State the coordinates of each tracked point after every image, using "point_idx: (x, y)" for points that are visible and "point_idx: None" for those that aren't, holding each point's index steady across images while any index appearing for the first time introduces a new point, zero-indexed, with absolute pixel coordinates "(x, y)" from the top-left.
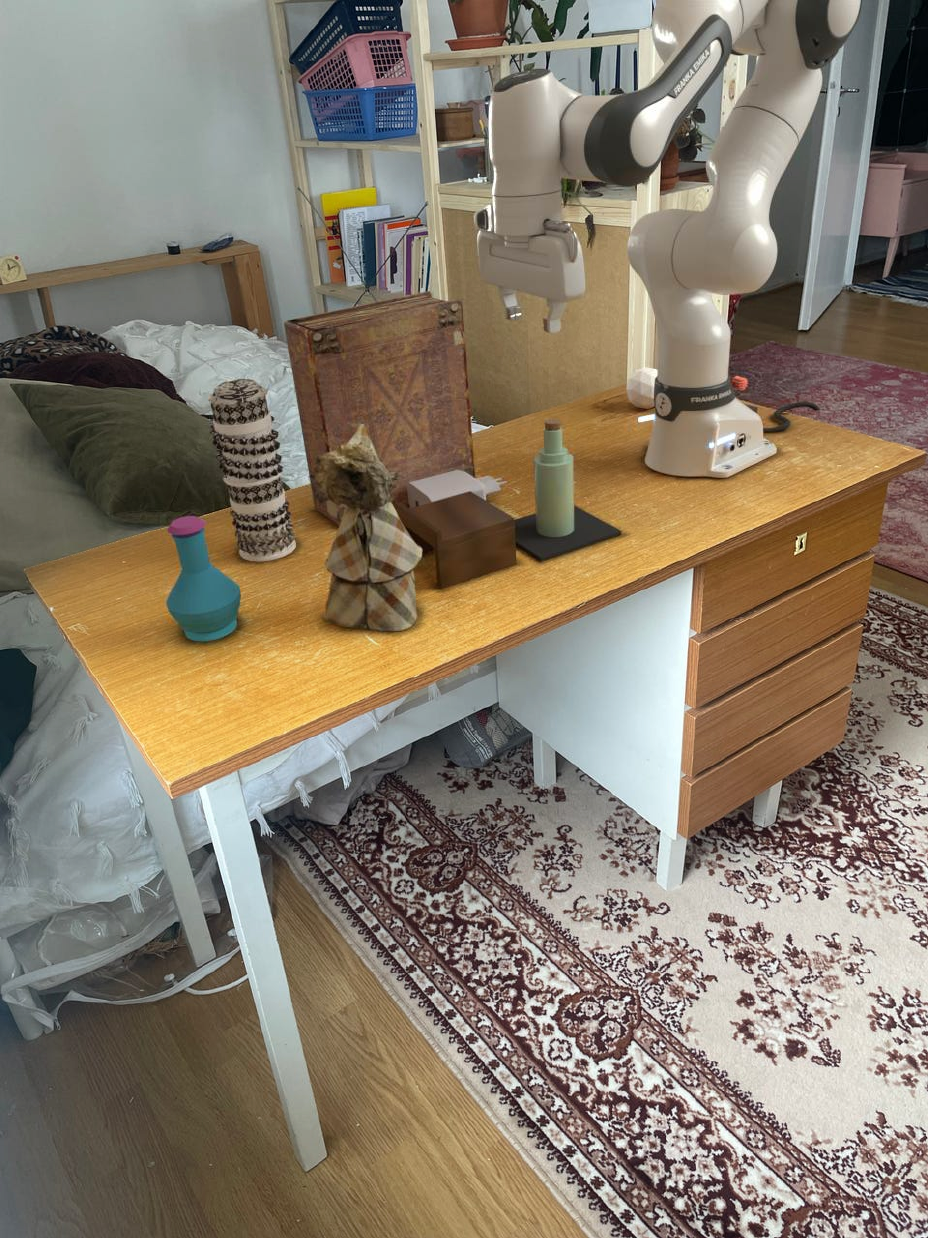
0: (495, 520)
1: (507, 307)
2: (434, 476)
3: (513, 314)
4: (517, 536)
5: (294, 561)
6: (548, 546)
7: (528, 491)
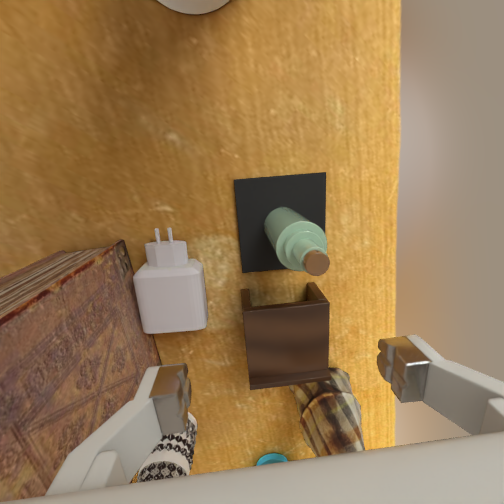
0: (322, 319)
1: (161, 434)
2: (145, 306)
3: (184, 399)
4: (275, 263)
5: (207, 414)
6: None
7: (171, 197)
